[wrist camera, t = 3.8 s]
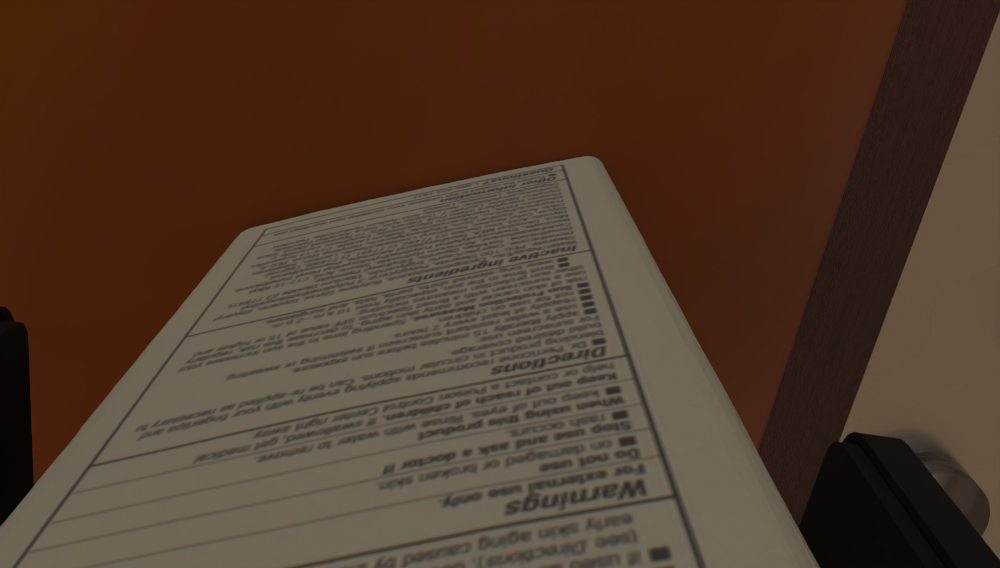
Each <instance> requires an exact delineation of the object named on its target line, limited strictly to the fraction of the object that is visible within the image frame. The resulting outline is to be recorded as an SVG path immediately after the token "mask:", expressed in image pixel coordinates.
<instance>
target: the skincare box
mask: <svg viewBox="0 0 1000 568" xmlns="http://www.w3.org/2000/svg"><path fill="white" fill-rule="evenodd" d="M0 568H820V567H819V565H818V563H817V562H816V560H815V558H814V556H813V554H812V552H811V551H810V549H809V547H808V545H807V543H806V541H805V540H804V538H803V536H802V534H801V532H800V530H799V529H798V527H797V525H796V523H795V521H794V519H793V517H792V516H791V514H790V512H789V510H788V508H787V506H786V505H785V503H784V501H783V499H782V497H781V495H780V493H779V492H778V490H777V488H776V486H775V484H774V482H773V481H772V479H771V477H770V475H769V473H768V471H767V469H766V467H765V465H764V463H763V461H762V459H761V458H760V456H759V454H758V452H757V450H756V448H755V446H754V444H753V442H752V440H751V438H750V436H749V435H748V433H747V431H746V429H745V427H744V425H743V423H742V421H741V419H740V417H739V416H738V414H737V412H736V410H735V408H734V406H733V404H732V402H731V400H730V399H729V397H728V395H727V393H726V391H725V389H724V387H723V386H722V384H721V382H720V380H719V378H718V376H717V375H716V373H715V371H714V370H713V368H712V366H711V365H710V363H709V361H708V359H707V358H706V356H705V354H704V352H703V351H702V349H701V347H700V345H699V343H698V341H697V339H696V338H695V336H694V334H693V332H692V330H691V328H690V326H689V324H688V322H687V320H686V318H685V316H684V314H683V312H682V310H681V309H680V307H679V305H678V303H677V301H676V300H675V298H674V296H673V294H672V292H671V290H670V289H669V287H668V285H667V283H666V281H665V280H664V278H663V276H662V274H661V272H660V270H659V268H658V267H657V265H656V263H655V261H654V259H653V257H652V255H651V254H650V252H649V250H648V247H647V245H646V243H645V241H644V239H643V237H642V236H641V234H640V232H639V230H638V229H637V227H636V225H635V223H634V221H633V219H632V217H631V215H630V213H629V211H628V210H627V208H626V206H625V204H624V202H623V200H622V199H621V197H620V195H619V193H618V191H617V190H616V188H615V186H614V184H613V182H612V181H611V179H610V177H609V175H608V173H607V171H606V169H605V167H604V166H603V164H602V162H601V161H600V160H599V159H597V158H595V157H591V156H584V157H578V158H573V159H567V160H562V161H556V162H551V163H546V164H541V165H536V166H531V167H526V168H520V169H515V170H510V171H504V172H499V173H495V174H490V175H485V176H480V177H476V178H471V179H466V180H461V181H456V182H452V183H447V184H442V185H437V186H432V187H427V188H422V189H418V190H414V191H409V192H405V193H400V194H396V195H391V196H386V197H382V198H377V199H372V200H367V201H363V202H358V203H354V204H350V205H345V206H341V207H337V208H332V209H327V210H322V211H318V212H314V213H310V214H306V215H302V216H298V217H294V218H290V219H286V220H282V221H278V222H274V223H270V224H266V225H261V226H257V227H254V228H250V229H247V230H245V231H243V232H242V233H240V234H239V235H238V237H237V238H236V239H235V240H234V242H233V243H232V244H231V245H230V246H229V248H228V249H227V250H226V251H225V252H224V254H223V255H222V256H221V257H220V258H219V260H218V261H217V262H216V264H215V265H214V266H213V267H212V268H211V270H210V271H209V272H208V273H207V274H206V276H205V277H204V278H203V279H202V281H201V282H200V283H199V285H198V286H197V287H196V288H195V289H194V291H193V292H192V293H191V294H190V295H189V297H188V298H187V299H186V300H185V302H184V303H183V304H182V305H181V307H180V308H179V309H178V310H177V312H176V313H175V314H174V315H173V317H172V318H171V319H170V320H169V321H168V322H167V324H166V325H165V326H164V327H163V329H162V330H161V331H160V332H159V333H158V335H157V336H156V337H155V338H154V339H153V340H152V342H151V343H150V344H149V345H148V347H147V348H146V349H145V350H144V352H143V353H142V354H141V355H140V356H139V358H138V359H137V361H136V362H135V363H134V364H133V365H132V367H131V368H130V369H129V370H128V371H127V372H126V374H125V375H124V376H123V377H122V378H121V380H120V381H119V382H118V383H117V384H116V386H115V387H114V388H113V389H112V391H111V392H110V393H109V395H108V396H107V397H106V398H105V399H104V401H103V402H102V403H101V404H100V405H99V407H98V408H97V409H96V410H95V412H94V413H93V414H92V415H91V416H90V418H89V419H88V420H87V421H86V423H85V424H84V425H83V426H82V427H81V429H80V430H79V432H78V433H77V434H76V436H75V437H74V438H73V439H72V441H71V442H70V443H69V444H68V446H67V447H66V448H65V449H64V450H63V452H62V453H61V454H60V455H59V456H58V457H57V459H56V460H55V461H54V462H53V463H52V465H51V466H50V467H49V468H48V469H47V470H46V472H45V473H44V474H43V475H42V477H41V478H40V479H39V480H38V481H37V483H36V484H35V485H34V486H33V488H32V489H31V490H30V491H29V493H28V494H27V495H26V496H25V497H24V499H23V500H22V501H21V502H20V504H19V505H18V506H17V507H16V508H15V510H14V511H13V512H12V513H11V515H10V516H9V517H8V518H7V519H6V521H5V522H4V523H3V524H2V525H1V526H0Z"/></svg>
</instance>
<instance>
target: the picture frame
mask: <svg viewBox="0 0 1000 568" xmlns="http://www.w3.org/2000/svg"><path fill="white" fill-rule="evenodd" d="M852 432H858V433H865V434H872V435H878V436H885V437H892V438H898V439H902V440H903V441H905V442H906V443H907V444H908V445H909V446H910V448H911V449H912V450H913V452H914V453H915V454H916V455H917V457H918V458H919V459H920V460H921V462H922V463H923V464H924V465H925V467H926V468H927V469H928V470H929V472H930V473H931V474H932V475H933V477H934V478H935V479H936V480H937V482H938V483H939V484H940V485H941V487H942V488H943V489H944V490H945V492H946V493H947V494H948V495H949V497H950V498H951V499H952V501H953V502H954V503H955V504H956V506H957V507H958V508H959V509H960V511H961V512H962V513H963V514H964V516H965V517H966V518H967V519H968V521H969V522H970V523H971V524H972V526H973V527H974V528H975V529H976V531H977V532H978V533H979V534H980V536H981V537H982V538H983V539H984V541H985V542H986V543H987V544H988V546H989V547H990V548H991V550H992V551H993V552H994V553H995V555H996V556H997V557H998V558H999V560H1000V0H909V2H908V5H907V8H906V11H905V14H904V17H903V20H902V23H901V26H900V29H899V32H898V35H897V38H896V41H895V44H894V47H893V50H892V53H891V56H890V59H889V62H888V65H887V68H886V71H885V74H884V77H883V80H882V83H881V86H880V89H879V92H878V95H877V98H876V101H875V104H874V107H873V110H872V113H871V116H870V119H869V122H868V125H867V128H866V131H865V134H864V137H863V140H862V143H861V146H860V149H859V152H858V155H857V158H856V161H855V164H854V167H853V170H852V173H851V176H850V179H849V182H848V185H847V188H846V191H845V194H844V197H843V200H842V203H841V206H840V209H839V212H838V215H837V218H836V221H835V224H834V227H833V230H832V233H831V236H830V239H829V242H828V245H827V248H826V251H825V254H824V257H823V260H822V263H821V266H820V269H819V272H818V275H817V278H816V281H815V284H814V287H813V290H812V293H811V296H810V299H809V302H808V305H807V308H806V311H805V314H804V317H803V320H802V323H801V326H800V329H799V332H798V335H797V338H796V341H795V344H794V347H793V350H792V353H791V356H790V359H789V362H788V365H787V368H786V370H785V373H784V376H783V379H782V382H781V385H780V388H779V391H778V394H777V397H776V400H775V403H774V406H773V409H772V412H771V415H770V418H769V421H768V424H767V427H766V430H765V433H764V436H763V439H762V442H761V445H760V448H759V451H758V454H759V456H760V458H761V459H762V461H763V463H764V465H765V467H766V469H767V471H768V473H769V475H770V477H771V479H772V481H773V482H774V484H775V486H776V488H777V490H778V492H779V493H780V495H781V497H782V499H783V501H784V503H785V505H786V506H787V508H788V510H789V512H790V514H791V516H792V517H793V519H794V521H795V523H796V525H797V527H798V528H799V525H800V522H801V520H802V517H803V514H804V511H805V509H806V506H807V503H808V501H809V498H810V495H811V492H812V490H813V487H814V484H815V481H816V479H817V476H818V473H819V470H820V468H821V465H822V462H823V460H824V457H825V454H826V452H827V450H828V448H829V446H830V445H831V444H832V443H834V442H836V441H837V442H842V441H843V440H844V438H845V437H846V436H847V435H848V434H850V433H852Z"/></svg>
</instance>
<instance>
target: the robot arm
mask: <svg viewBox="0 0 1000 568" xmlns="http://www.w3.org/2000/svg"><path fill="white" fill-rule="evenodd" d="M32 488H33V458H32V431H31V404H30V376H29V349H28V334H27V329H26V327H25V325H24V324H22V323H20V322H14V320H13V317H12V314H11V312H10V311H9V310H8V309H7V308H6V307H0V526H1V525H2V524H3V523H4V522H5V521H6V519H7V518H8V517H9V516H10V515H11V513H12V512H13V511H14V510H15V508H16V507H17V506H18V505H19V504H20V502H21V501H22V500H23V499H24V497H25V496H26V495H27V494H28V493H29V491H30V490H31V489H32ZM798 529H799V530H800V532H801V534H802V536H803V538H804V540H805V541H806V543H807V545H808V547H809V549H810V551H811V552H812V554H813V556H814V558H815V560H816V562H817V563H818V565H819V567H820V568H1000V560H999V558H998V557H997V556H996V555H995V553H994V552H993V551H992V550H991V548H990V547H989V546H988V544H987V543H986V542H985V541H984V539H983V538H982V537H981V536H980V534H979V533H978V532H977V531H976V529H975V528H974V527H973V526H972V524H971V523H970V522H969V521H968V519H967V518H966V517H965V516H964V514H963V513H962V512H961V511H960V509H959V508H958V507H957V506H956V504H955V503H954V502H953V501H952V499H951V498H950V497H949V495H948V494H947V493H946V492H945V490H944V489H943V488H942V487H941V485H940V484H939V483H938V482H937V480H936V479H935V478H934V477H933V475H932V474H931V473H930V472H929V470H928V469H927V468H926V467H925V465H924V464H923V463H922V462H921V460H920V459H919V458H918V457H917V455H916V454H915V453H914V452H913V450H912V449H911V448H910V446H909V445H908V444H907V443H906V442H905V441H903V440H902V439H898V438H892V437H885V436H878V435H872V434H865V433H858V432H852V433H850V434H848V435H847V436H846V437H845V438H844V440H843V441H842V442H837V441H836V442H834V443H832V444H831V445H830V446H829V448H828V450H827V452H826V454H825V457H824V460H823V462H822V465H821V468H820V470H819V473H818V476H817V479H816V481H815V484H814V487H813V490H812V492H811V495H810V498H809V501H808V503H807V506H806V509H805V511H804V514H803V517H802V520H801V522H800V525H799V528H798Z"/></svg>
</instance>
